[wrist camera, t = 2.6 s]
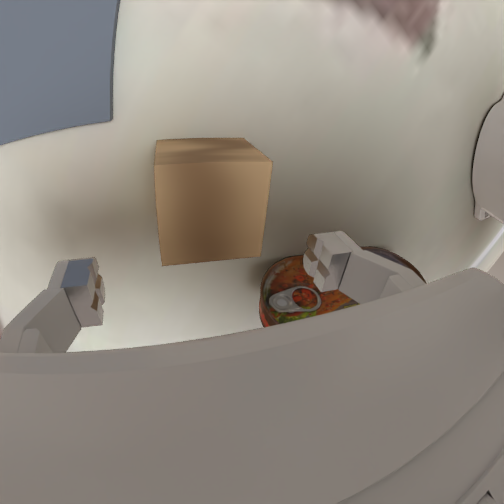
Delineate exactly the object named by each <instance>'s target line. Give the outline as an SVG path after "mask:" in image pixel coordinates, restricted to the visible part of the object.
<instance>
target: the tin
mask: <svg viewBox="0 0 504 504" xmlns="http://www.w3.org/2000/svg"><path fill="white" fill-rule="evenodd" d="M360 248H361V249H362V250H363V251H364V250H367V251H369V252H372V253H374V254H376V255H379V256H381V257H383V258H386V259H388V260H390V261H393V262H395V263H397V264H400V265H402V266H404V267H406V268H409V269H411V270H413V271H414V272H415V273H416V274H417V275H418V276H419V277H420V278H421V279H422V280H423V281H424V282H425V283H426V281H425V280H424V278H423V276H422V275H421V274H420V272H419V271H418V270H417V269H416V268H415V267H414V266H413V265H412V264H410V263H409V262H408V261H407V260H405V259H404V258H402V257H400V256H399V255H397V254H395V253H393V252H390V251H388V250H385V249H381V248H376V247H360ZM303 257H304V255H300V256H293V257H289V258H285V259H283V260H281V261H279V262H277V263H275V264H274V265H273V266H272V267H271V268H269V269H268V271H267V272H266V274H265V275H264V277H263V279H262V283H261V296H260V302H259V314H260V319H261V322H262V325H263V327H268V326H273V325H278V324H283V323H287V322H292V321H296V320H300V319H305V318H309V317H313V316H317V315H322V314H326V313H330V312H333V311H337V310H341V309H345V308H349V307H352V306H356V305H360V304H359V303H358V302H356V301H355V300H353V299H352V298H350V297H349V296H347V295H345V294H344V293H342V292H341V291H339V289H336V290H331V291H325V292H321V291H320V290H319V289H318V287H317V286H316V285H315V283H314V282H313V281H314V277H312V276H310V275H308V274H307V272H306V271H305V268H304V264H303Z"/></svg>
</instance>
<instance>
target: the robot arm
mask: <svg viewBox="0 0 504 504" xmlns="http://www.w3.org/2000/svg"><path fill="white" fill-rule="evenodd" d="M472 185H473V193H474V197H475V202H476V203H475V213H474V215H475V218H477V219H478V220H480V221H481V220H484V219H486V218H489V217H491V216H493V217H494V218H496V219H497V220H499V221H500V222H501V223H503V224H504V96H503V98H502V100H501V101H500V102H498V103H497V104H495V105H494V106H493V107H492V109H491V110H490V112H489V113H488V115H487V117H486V119H485V122H484V124H483V127H482V129H481V132H480V136H479V139H478V143H477V147H476V152H475V157H474V164H473V175H472ZM306 244H307V246H308V249H307V250H306V251H305V253H304V257H303V264H304V268H305V271H306V272H307V274H308V275H310V276H312V277H314V281H313V282H314V283H315V285H316V286H317V287H318V289H319V290H320V291H321V292H325V291H331V290H336V289H339V291H341V292H342V293H344V294H345V295H347V296H349V297H350V298H352V299H353V300H355V301H356V302H358V303H359V304H360V305H356V306H352V307H349V308H345V309H341V310H337V311H333V312H330V313H326V314H322V315H317V316H313V317H309V318H305V319H300V320H296V321H292V322H287V323H283V324H278V325H273V326H268V327H264V328H259V329H254V330H248V331H243V332H238V333H232V334H227V335H221V336H215V337H209V338H203V339H196V340H190V341H183V342H175V343H168V344H160V345H152V346H143V347H133V348H123V349H111V350H98V351H83V352H66V351H67V350H68V348H69V347H70V345H71V344H72V342H73V340H74V339H75V337H76V336H77V334H78V333H79V332H80V330H81V327H89V326H98V325H102V324H103V313H104V311H103V308H102V305H103V303H104V302H105V288H104V283H103V279H102V277H101V276H100V275H99V274H98V270H99V265H98V262H97V259H96V258H95V257H91V258H81V259H71V260H62V261H58V262H57V264H56V266H55V269H54V271H53V274H52V277H51V280H50V282H49V285H48V288H47V290H43V291H42V292H41V293H40V294H39V295H38V296H37V297H36V298H34V299H33V300H32V301H31V302H30V303H29V304H28V305H27V306H26V307H25V308H24V309H23V310H22V311H21V312H20V313H19V314H18V315H17V316H16V317H15V318H14V319H13V320H12V321H11V322H10V323H9V324H8V325H7V326H6V327H5V328H4V330H3V333H2V336H1V339H0V504H504V284H503V283H501V282H500V281H499V280H498V279H496V278H495V277H493V276H491V275H490V274H488V273H486V272H484V271H482V270H480V269H477V268H469V269H466V270H463V271H461V272H458V273H455V274H453V275H450V276H447V277H445V278H442V279H439V280H436V281H433V282H430V283H427V284H426V283H425V282H424V281H423V280H422V279H421V278H420V277H419V276H418V275H417V274H416V273H415V272H414V271H413V270H411V269H409V268H406V267H404V266H402V265H400V264H397V263H395V262H393V261H390V260H388V259H386V258H383V257H381V256H379V255H376V254H374V253H372V252H369V251H367V250H364V251H363V250H362V249H361V248H360V247H359V246H358V245H357V244H356V243H355V242H354V241H353V240H352V239H351V238H350V237H349V236H348V235H347V234H346V233H344V232H343V231H334V232H328V233H319V234H311V235H309V237H308V239H307V243H306Z"/></svg>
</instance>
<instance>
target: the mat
mask: <svg viewBox="0 0 504 504" xmlns="http://www.w3.org/2000/svg"><path fill="white" fill-rule="evenodd" d="M119 4H120V0H0V145H3V144H6V143H9V142H12V141H16V140H19V139H23V138H26V137H30V136H34V135H38V134H42V133H46V132H51V131H55V130H60V129H65V128H70V127H75V126H81V125H86V124H93V123H99V122H106V121H111V120H112V119H113V64H114V48H115V36H116V27H117V18H118V11H119Z"/></svg>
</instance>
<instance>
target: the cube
mask: <svg viewBox="0 0 504 504" xmlns="http://www.w3.org/2000/svg"><path fill="white" fill-rule="evenodd" d="M272 165H273V162H272V161H271V160H270V159H269V158H267V157H266V156H265V155H264V154H263V153H261V152H260V151H259V150H258V149H256V148H255V147H254V146H253V145H251V144H250V143H249V142H248V141H246V140H245V139H244V138H187V139H167V140H157V143H156V151H155V160H154V180H155V197H156V211H157V223H158V234H159V244H160V253H161V261H162V266H168V265H178V264H189V263H199V262H209V261H219V260H229V259H239V258H249V257H259V256H261V249H262V242H263V234H264V227H265V219H266V212H267V204H268V196H269V188H270V181H271V173H272Z"/></svg>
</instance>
